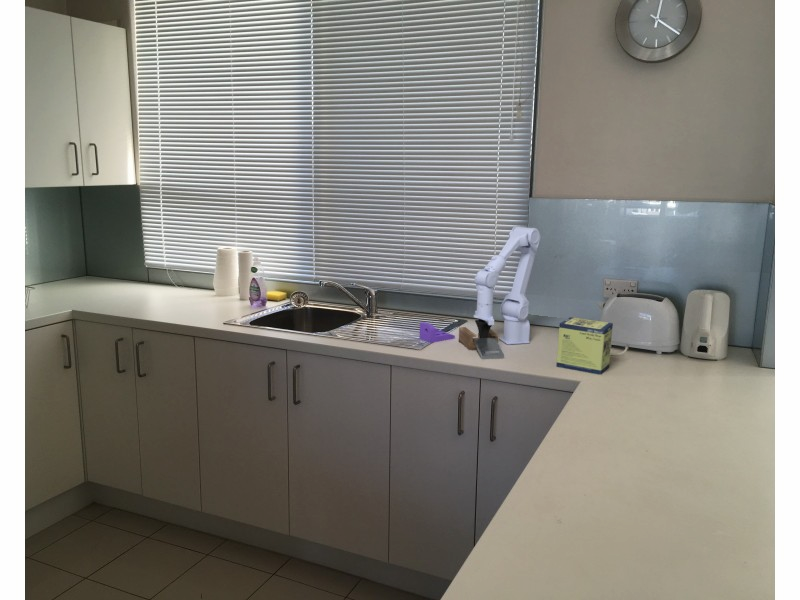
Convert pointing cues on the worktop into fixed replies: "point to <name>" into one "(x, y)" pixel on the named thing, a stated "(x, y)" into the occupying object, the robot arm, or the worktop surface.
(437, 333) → the bracket
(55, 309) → the worktop surface
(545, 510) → the worktop surface
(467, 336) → the sleeve box
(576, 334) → the protein box
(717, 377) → the worktop surface
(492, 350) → the cover plate
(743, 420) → the worktop surface
